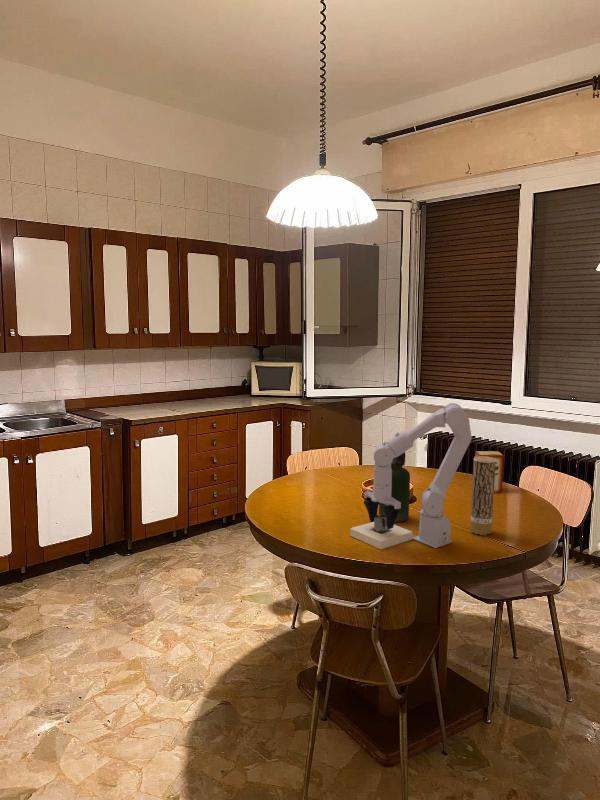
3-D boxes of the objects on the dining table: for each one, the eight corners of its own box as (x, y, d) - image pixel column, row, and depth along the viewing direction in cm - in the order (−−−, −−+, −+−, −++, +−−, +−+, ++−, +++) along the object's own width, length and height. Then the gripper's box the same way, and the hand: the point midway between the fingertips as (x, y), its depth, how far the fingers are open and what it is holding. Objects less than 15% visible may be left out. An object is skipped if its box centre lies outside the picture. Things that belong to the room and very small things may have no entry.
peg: (388, 537, 194) (389, 516, 193) (381, 541, 191) (382, 519, 190) (378, 534, 196) (379, 514, 195) (371, 538, 193) (371, 516, 192)
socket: (412, 539, 193) (412, 531, 192) (380, 549, 184) (380, 541, 184) (381, 526, 204) (381, 519, 203) (350, 535, 195) (350, 528, 195)
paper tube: (467, 528, 203) (471, 455, 199) (488, 529, 202) (492, 456, 199) (473, 536, 196) (476, 460, 192) (494, 536, 196) (498, 461, 192)
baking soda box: (477, 492, 243) (479, 454, 241) (473, 488, 250) (475, 450, 247) (501, 493, 243) (503, 454, 241) (496, 488, 249) (498, 450, 247)
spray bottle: (375, 513, 217) (377, 445, 214) (404, 512, 218) (406, 444, 215) (382, 523, 207) (384, 452, 204) (412, 522, 208) (414, 451, 204)
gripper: (357, 480, 195) (356, 521, 197) (389, 491, 183) (388, 534, 185) (373, 477, 199) (372, 516, 201) (406, 487, 187) (404, 529, 189)
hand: (381, 524), depth 193 cm, fingers open, 7 cm apart
